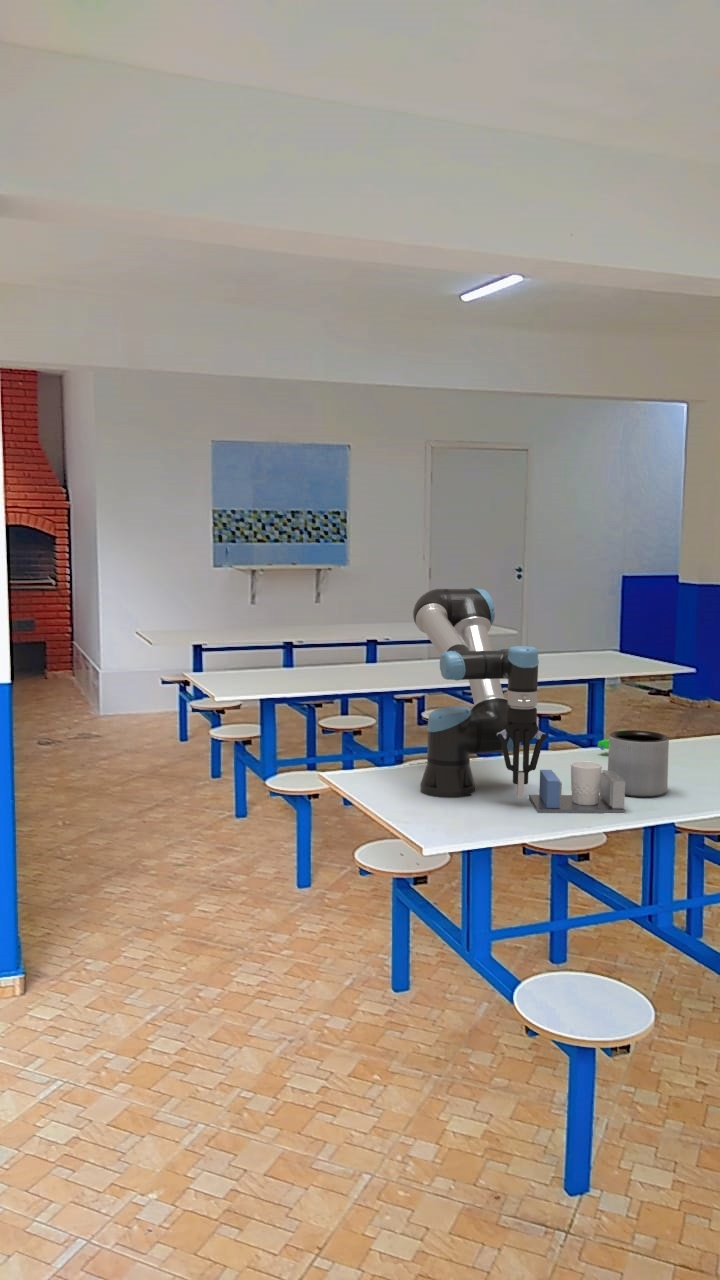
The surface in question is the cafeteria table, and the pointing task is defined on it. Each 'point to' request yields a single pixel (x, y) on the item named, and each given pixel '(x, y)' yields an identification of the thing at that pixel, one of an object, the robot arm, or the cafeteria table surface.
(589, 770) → the white cup
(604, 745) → the toy car
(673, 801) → the cafeteria table surface
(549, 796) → the sliding jaw
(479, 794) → the cafeteria table surface
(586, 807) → the vise bed
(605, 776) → the fixed jaw
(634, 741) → the planter
